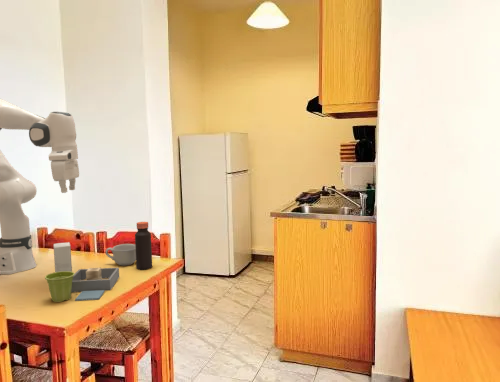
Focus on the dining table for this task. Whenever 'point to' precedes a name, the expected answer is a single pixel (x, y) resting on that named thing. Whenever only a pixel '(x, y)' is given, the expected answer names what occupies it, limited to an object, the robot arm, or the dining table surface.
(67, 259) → the small box
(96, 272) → the block
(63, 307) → the dining table surface
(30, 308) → the dining table surface
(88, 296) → the pad
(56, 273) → the plant pot
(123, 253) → the teacup
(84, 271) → the bin
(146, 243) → the bottle
